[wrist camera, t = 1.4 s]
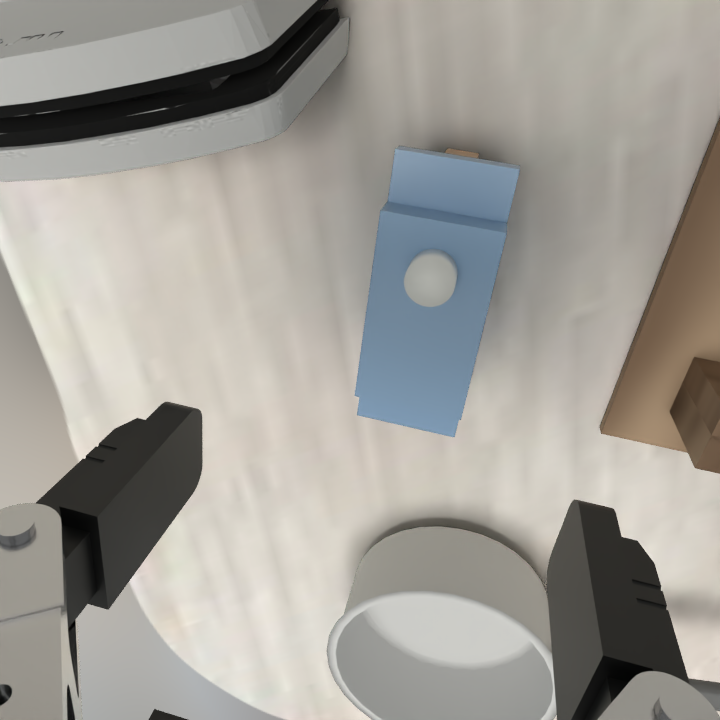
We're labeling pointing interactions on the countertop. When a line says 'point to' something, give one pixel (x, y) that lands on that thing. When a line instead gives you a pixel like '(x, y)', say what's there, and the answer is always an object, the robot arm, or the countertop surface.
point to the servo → (432, 285)
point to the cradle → (679, 338)
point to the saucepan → (448, 632)
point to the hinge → (153, 79)
